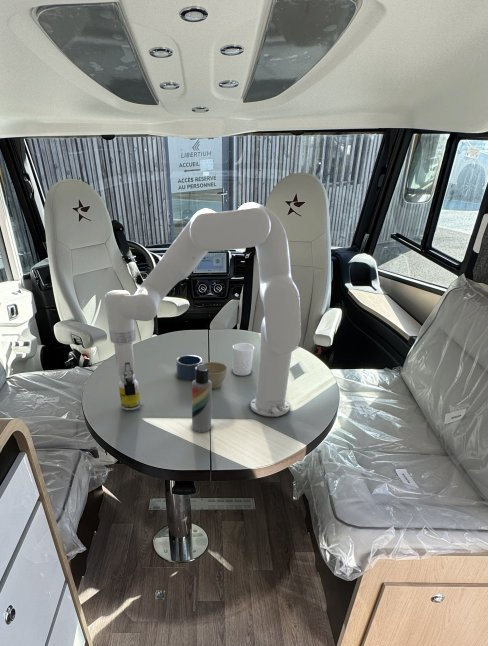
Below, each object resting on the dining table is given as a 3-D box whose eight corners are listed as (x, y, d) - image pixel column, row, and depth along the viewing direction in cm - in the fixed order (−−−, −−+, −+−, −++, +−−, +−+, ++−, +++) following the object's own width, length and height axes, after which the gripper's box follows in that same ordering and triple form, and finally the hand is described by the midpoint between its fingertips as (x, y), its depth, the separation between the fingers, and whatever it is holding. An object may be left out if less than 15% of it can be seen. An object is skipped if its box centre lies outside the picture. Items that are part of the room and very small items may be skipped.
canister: (204, 379, 163) (204, 363, 160) (179, 381, 161) (179, 366, 158) (198, 369, 170) (198, 354, 167) (174, 371, 169) (174, 356, 165)
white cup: (252, 376, 165) (254, 351, 159) (231, 376, 165) (233, 350, 159) (251, 368, 171) (253, 343, 165) (230, 367, 171) (232, 342, 166)
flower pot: (211, 395, 153) (211, 375, 148) (193, 385, 159) (193, 366, 155) (232, 387, 158) (233, 368, 154) (213, 377, 164) (214, 359, 160)
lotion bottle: (200, 421, 138) (200, 360, 127) (214, 427, 135) (216, 365, 124) (188, 428, 135) (187, 366, 123) (202, 434, 132) (203, 372, 120)
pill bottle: (119, 403, 147) (115, 372, 140) (137, 400, 148) (134, 369, 142) (123, 412, 142) (119, 380, 135) (142, 408, 144) (139, 377, 137)
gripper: (107, 327, 137) (114, 380, 148) (112, 346, 123) (120, 403, 134) (131, 324, 138) (137, 377, 149) (139, 344, 125) (144, 400, 135)
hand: (129, 389), depth 141 cm, fingers closed on pill bottle, 6 cm apart
